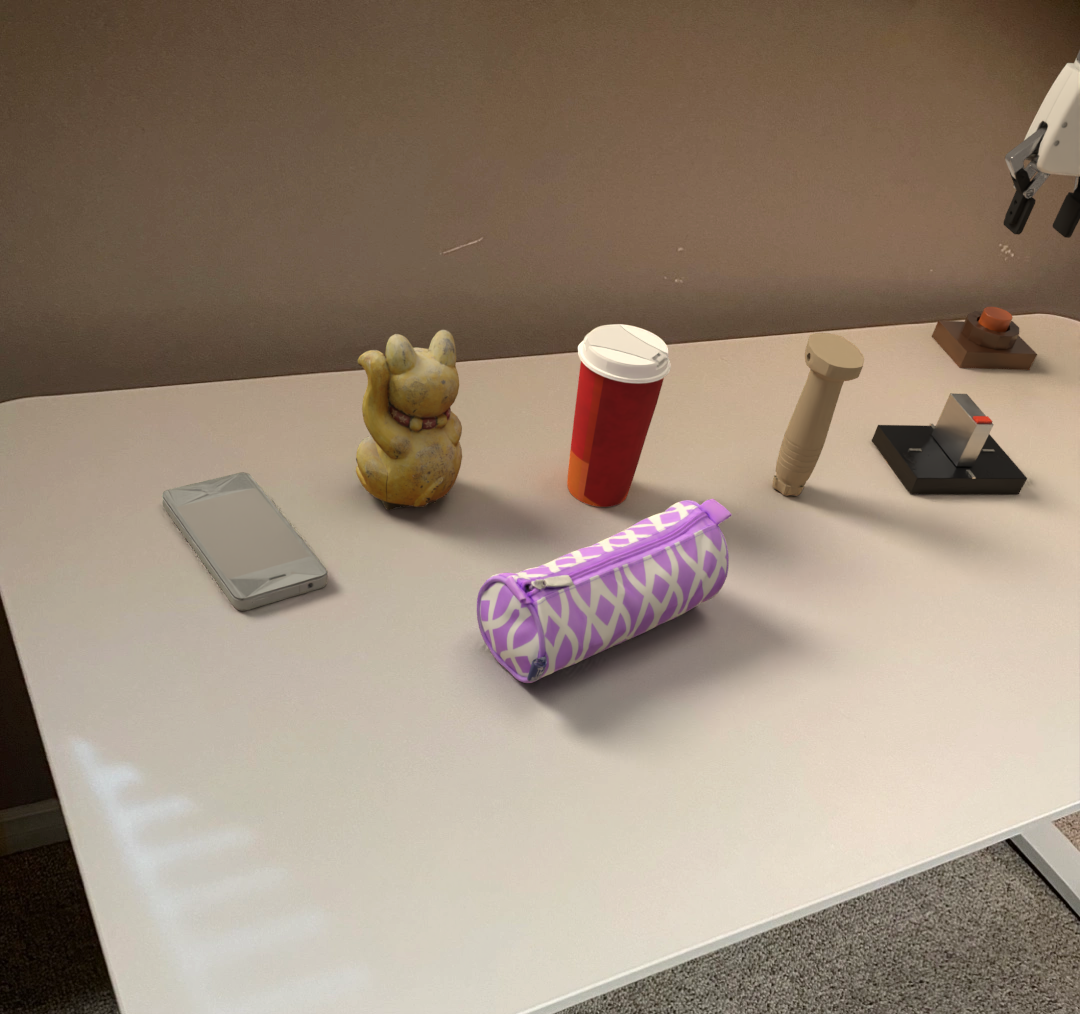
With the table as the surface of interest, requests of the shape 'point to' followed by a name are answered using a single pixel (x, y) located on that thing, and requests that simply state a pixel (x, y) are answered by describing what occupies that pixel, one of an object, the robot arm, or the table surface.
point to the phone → (244, 540)
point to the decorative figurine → (410, 422)
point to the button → (995, 319)
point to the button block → (983, 345)
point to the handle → (815, 408)
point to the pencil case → (604, 591)
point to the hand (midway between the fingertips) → (1036, 229)
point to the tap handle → (962, 429)
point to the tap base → (944, 464)
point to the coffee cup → (613, 410)
